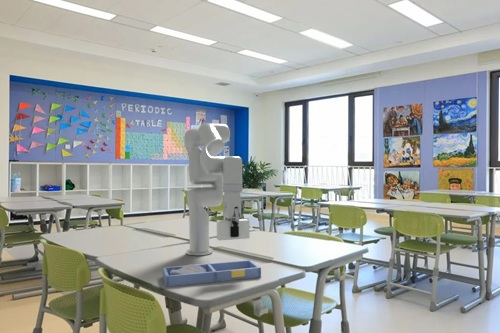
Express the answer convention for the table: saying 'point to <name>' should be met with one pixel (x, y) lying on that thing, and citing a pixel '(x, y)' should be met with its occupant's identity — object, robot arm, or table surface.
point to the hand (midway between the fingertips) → (233, 235)
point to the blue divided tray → (214, 273)
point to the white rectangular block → (224, 229)
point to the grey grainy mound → (188, 270)
